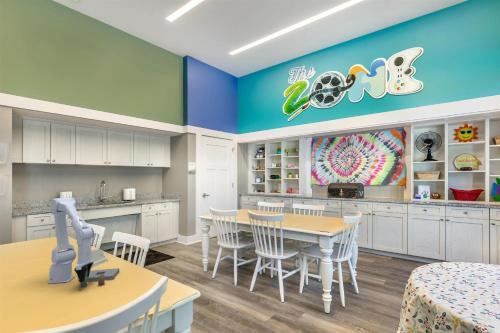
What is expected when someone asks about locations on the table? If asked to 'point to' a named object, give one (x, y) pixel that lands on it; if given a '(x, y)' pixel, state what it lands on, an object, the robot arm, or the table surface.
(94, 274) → the hole plate
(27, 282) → the table surface
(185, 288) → the table surface
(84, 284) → the long pin
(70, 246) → the robot arm
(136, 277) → the table surface
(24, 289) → the table surface
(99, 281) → the short pin
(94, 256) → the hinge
